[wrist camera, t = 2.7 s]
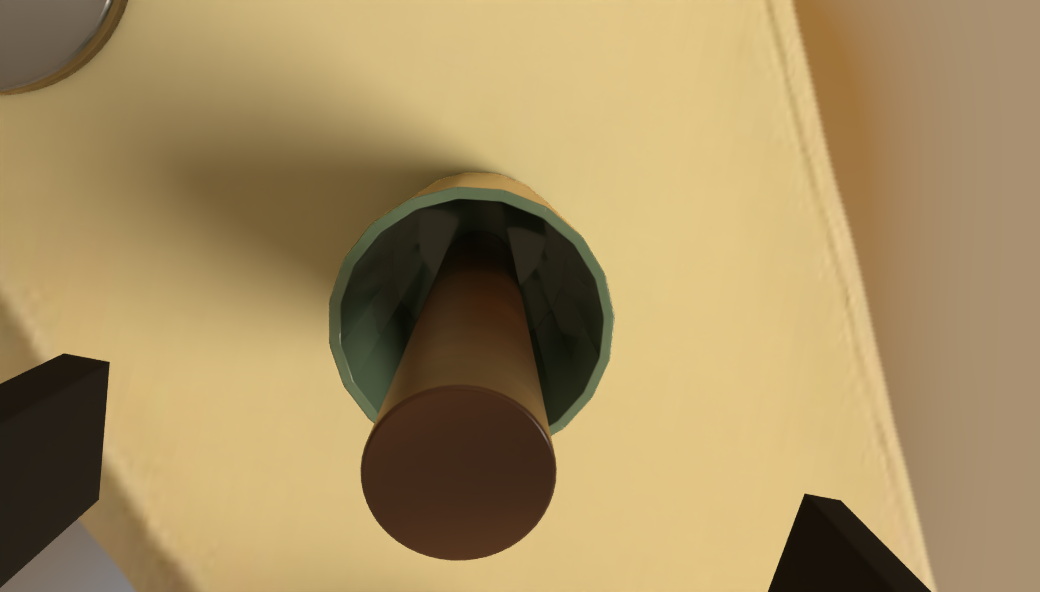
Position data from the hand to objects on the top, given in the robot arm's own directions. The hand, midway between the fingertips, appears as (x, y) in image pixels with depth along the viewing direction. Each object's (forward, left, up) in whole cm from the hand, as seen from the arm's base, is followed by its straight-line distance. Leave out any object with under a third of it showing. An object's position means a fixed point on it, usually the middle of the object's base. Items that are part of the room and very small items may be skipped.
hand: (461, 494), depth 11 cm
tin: (0, 0, -22) cm, 22 cm away
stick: (0, 0, -21) cm, 21 cm away
